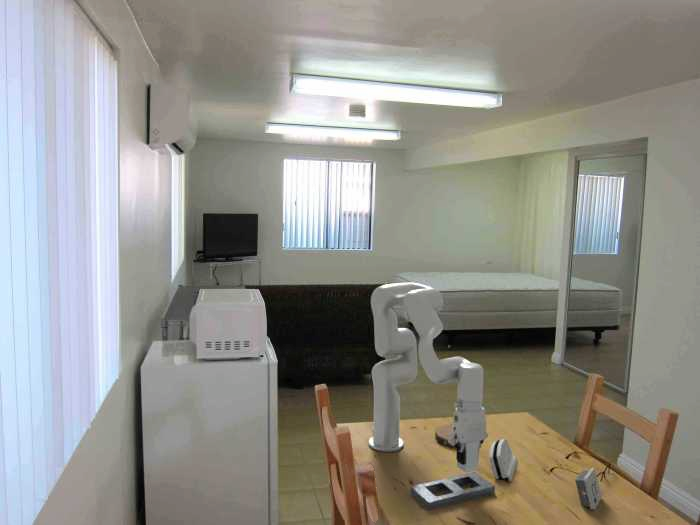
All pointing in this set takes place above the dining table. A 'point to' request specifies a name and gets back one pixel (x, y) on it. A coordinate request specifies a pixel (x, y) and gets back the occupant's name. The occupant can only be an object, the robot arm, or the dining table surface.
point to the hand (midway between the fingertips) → (467, 460)
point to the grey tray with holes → (452, 490)
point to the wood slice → (444, 434)
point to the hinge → (502, 459)
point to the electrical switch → (588, 488)
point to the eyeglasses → (591, 456)
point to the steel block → (470, 457)
